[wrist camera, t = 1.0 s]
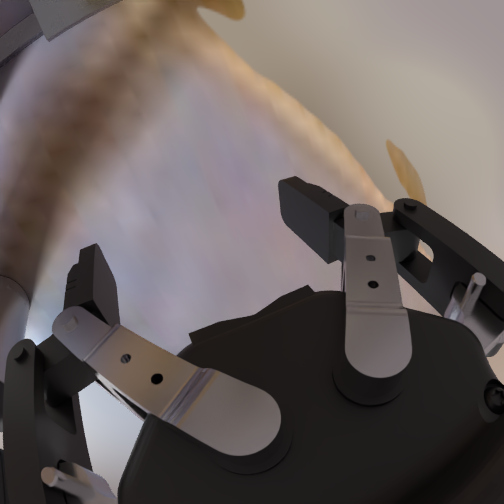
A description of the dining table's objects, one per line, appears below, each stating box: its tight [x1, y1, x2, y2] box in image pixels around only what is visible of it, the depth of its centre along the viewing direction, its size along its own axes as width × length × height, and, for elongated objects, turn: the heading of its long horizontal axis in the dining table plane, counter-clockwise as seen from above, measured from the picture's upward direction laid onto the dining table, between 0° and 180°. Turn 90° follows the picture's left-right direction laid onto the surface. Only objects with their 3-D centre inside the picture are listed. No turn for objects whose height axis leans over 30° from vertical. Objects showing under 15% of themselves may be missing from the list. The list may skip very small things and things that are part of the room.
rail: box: [0, 13, 44, 68], centre depth 18 cm, size 26×4×4 cm, turn 112°
